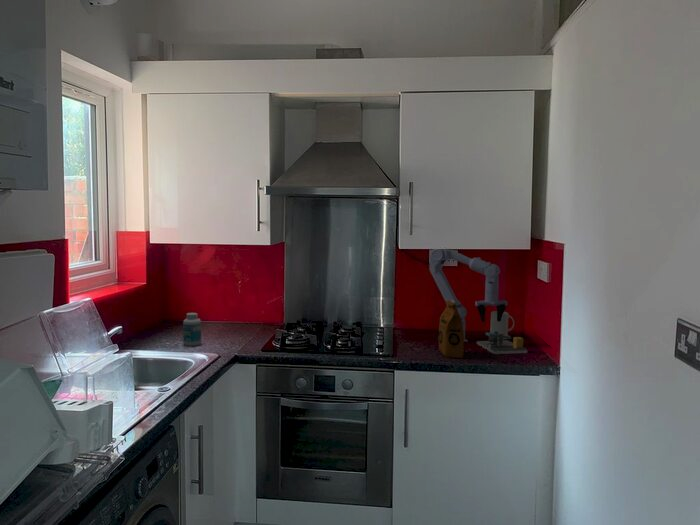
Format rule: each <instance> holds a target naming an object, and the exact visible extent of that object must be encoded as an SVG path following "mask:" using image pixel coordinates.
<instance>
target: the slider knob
mask: <svg viewBox="0 0 700 525" xmlns="http://www.w3.org/2000/svg"><path fill="white" fill-rule="evenodd" d="M512 343H513V348H524V338H523V337H521V336H514V337H513V340H512Z"/></svg>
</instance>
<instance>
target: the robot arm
mask: <svg viewBox="0 0 700 525" xmlns="http://www.w3.org/2000/svg"><path fill="white" fill-rule="evenodd" d="M449 249H450V248H446V249H435V248H433V249H432V250H431V251H430V254H429V258H428V259H429V272H430V274H431V276H432V277H433V279H434V281H435V284H436V285H437V288H438V289H439V290H438V291H439V292H440V293H441V296H442V297H443V300H444V301H445V302H446V301H448V300H449V301H452V302H454V303H455V304H456V306H457V309H458V312H459V315H460V317H461V320H462V326H463V331H464V342H469V340H468V339H466V319H465V318H466V316H467V315H468V314H467V313H468V311H467V309H466V307H464V306H463V305H462V303H461V301H459V299H457V296H456V295H455V292H454V291H453V289H452V287H451V285H450V283H449V280H448V279H447V276H446V274H445V273H444V271H443V267H444V264H445V262H446V261H447V260H454V261H457V262H460V263H461V264H464V265H467V266H469V269H470V270H472V271H474V272H476V273H479V274H481V275H484V276H485V282H484V283H485V284H484V286H485V289H484V300H478V301H477V300H475V302H474V303H475V304H474V305H475V306H476V309H477V311H478V314H479V316H480V321H481V322H482V323H485V322H486V317H485V316H486V310H487V307H488V306H489V307H490V306H496V311H497V321H499V322H500V321H501V318H502V315H503V313H504V312H506V310H507V306H508V301H507V300H499V288H500V287H499V286H500V284H499V275H500V273H501V268H500V267H499V266H498V265H497V264H495V263H492V262H490V261H488V262H487V261H485V260H483V259H482V258H481V257H473V258H472V257H468V256H466V255H464V254H462V253H460V252H458V251H455V250H454V249H451V250H449Z"/></svg>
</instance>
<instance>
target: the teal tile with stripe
mask: <svg viewBox="0 0 700 525" xmlns="http://www.w3.org/2000/svg"><path fill="white" fill-rule="evenodd" d="M485 335H486V336H488V337H489V336H496V337H498V338H499V334H496V333H490V332H488V331H486V332H485ZM503 338H506V339H505V340H512V336H510V335H509V334H508V335H505V334H503Z"/></svg>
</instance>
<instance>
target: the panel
mask: <svg viewBox="0 0 700 525" xmlns="http://www.w3.org/2000/svg"><path fill="white" fill-rule="evenodd" d="M494 333H496V334H498V331H496V332H494ZM476 345H478V346H480V347H481V346H482V347H481V348H484V349H485V350H486V349H487V351H488V352H490V353H492V354H493V355H501V354H502V355H505V354H507V355H508V354H528V350H527V348H526V347H523V348H513V341H510V340H509V339H503V334H499V339H498V337H497V342H495V343H493V342H489V340H477V341H476Z"/></svg>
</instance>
